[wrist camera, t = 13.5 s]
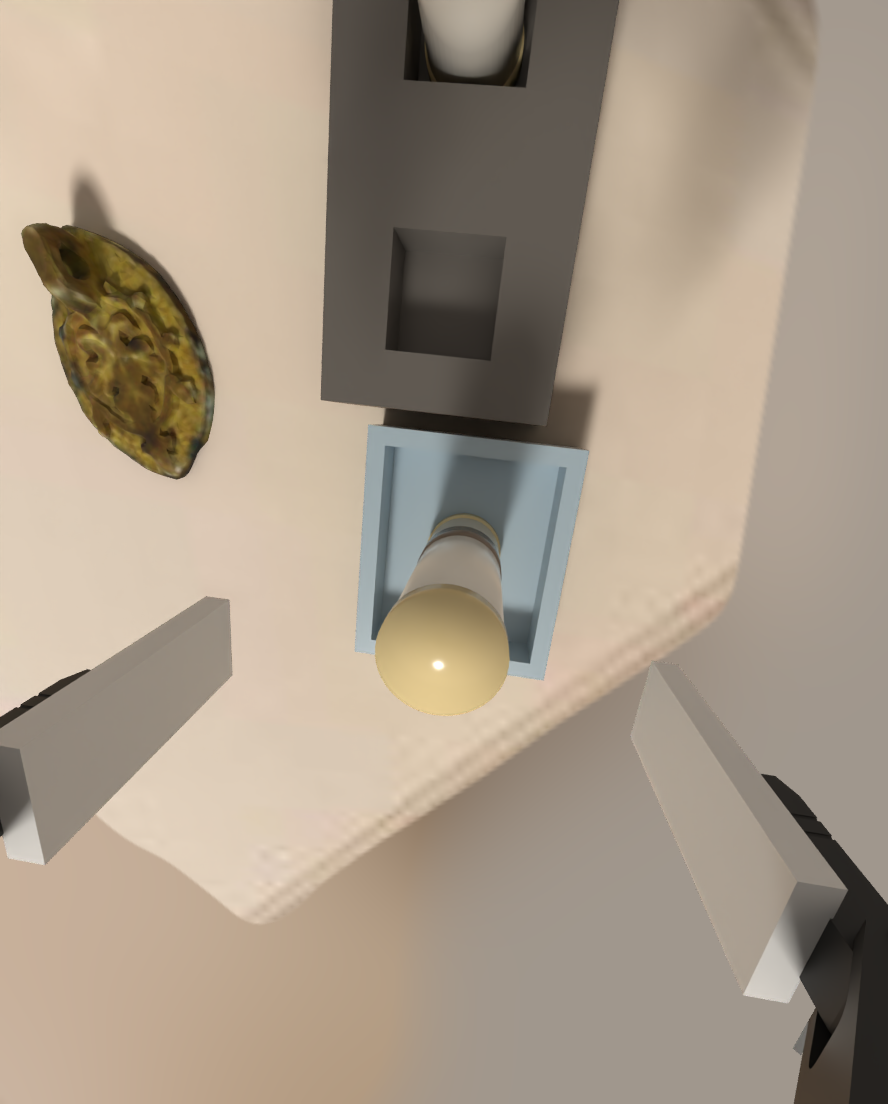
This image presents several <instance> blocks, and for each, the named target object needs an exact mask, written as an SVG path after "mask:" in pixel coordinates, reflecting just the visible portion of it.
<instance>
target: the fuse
mask: <svg viewBox="0 0 888 1104" xmlns="http://www.w3.org/2000/svg"><path fill="white" fill-rule="evenodd" d="M418 5H419V11H420V16H421V22H422V28H423V33H424V39H425V57H426V62H427V68H428V73H429V79H430V82H444V83H460V84H476V85H491V86H507V87H515V85H516V83H517V80H518V78H519V75H520V71H521V66H522V60H523V48H524V24H523V19H524V6H525V0H418Z"/></svg>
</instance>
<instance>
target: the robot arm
mask: <svg viewBox="0 0 888 1104" xmlns="http://www.w3.org/2000/svg"><path fill="white" fill-rule="evenodd" d="M231 676H232V653H231V628H230V602H229V600H228V599H221V598H214V597H207V596H206V597H204V598H203V599H201V600H200V601H198V602H197V603H195V604H194V605H192V606H190V607H189V608H187V609H186V610H184V611H183V612H181V613H180V614H178V615H176V616H175V617H173V618H172V619H170V620H169V621H167V622H165V623H164V624H162V625H161V626H159V627H158V628H156V629H155V630H153V631H151V632H150V633H148V634H147V635H145V636H144V637H142V638H141V639H139V640H137V641H136V642H134V643H133V644H131V645H130V646H128V647H127V648H125V649H123V650H122V651H120V652H119V653H117V654H116V655H114V656H113V657H111V658H109V659H108V660H106V661H105V662H103V663H102V664H100V665H98V666H97V667H95V668H94V669H92V670H88V669H87V670H84V671H82V672H79V673H77V674H74V675H72V676H69V677H66V678H64V679H61V680H59V681H58V682H56V683H55V684H53V685H51V686H50V687H48V688H47V689H45V690H43V691H42V692H40V693H39V695H38V696H34V697H32V698H30V699H29V700H27V701H26V702H24V703H22V704H21V706H20V707H19V708H17V707H16V708H14V709H13V710H11V711H9V712H8V713H6V714H4V715H3V716H1V717H0V836H3V840H4V843H5V848H6V852H7V855H8V858H10V859H15V860H21V861H26V862H31V863H36V864H43V865H45V864H46V863H47V862H48V861H49V860H50V859H51V858H52V857H53V856H54V855H55V854H56V853H57V852H58V851H59V850H60V849H61V848H62V847H63V846H64V845H65V844H66V843H67V842H68V841H69V840H70V839H71V838H72V837H73V836H74V835H75V834H76V833H77V832H78V831H79V830H80V829H81V828H82V827H83V826H84V825H85V824H86V823H87V822H88V821H89V820H90V819H91V818H92V817H93V816H94V815H95V814H96V813H97V812H98V811H99V810H100V809H101V808H102V807H103V806H104V805H105V804H106V803H107V802H108V801H109V800H110V799H111V798H112V797H113V796H114V795H115V794H116V793H117V792H118V791H119V790H120V788H121V787H122V786H123V785H124V784H125V783H126V782H127V781H128V780H129V779H130V778H131V777H132V776H133V775H134V774H135V773H136V772H137V771H138V770H139V769H140V768H141V767H142V766H143V765H144V764H145V763H146V762H147V761H148V760H149V759H150V758H151V757H152V756H153V755H154V754H155V753H156V752H157V751H158V750H159V749H160V748H161V747H162V746H163V745H164V744H165V743H166V742H167V741H168V740H169V739H170V738H171V737H172V736H173V735H174V734H175V733H176V732H177V731H178V730H179V729H180V728H181V727H182V726H183V725H184V724H185V723H186V722H187V721H188V720H189V719H190V718H191V717H192V716H193V715H194V714H195V712H196V711H197V710H198V709H199V708H200V707H201V706H202V705H203V704H204V703H205V702H206V701H207V700H208V699H209V698H210V697H211V696H212V695H213V694H214V693H215V692H216V691H217V690H218V689H219V688H220V687H221V686H222V685H223V684H224V683H225V682H226V681H227V680H228V679H229V678H230V677H231ZM630 737H631V739H632V742H633V744H634V747H635V749H636V751H637V753H638V756H639V758H640V760H641V763H642V765H643V767H644V769H645V771H646V774H647V776H648V779H649V781H650V783H651V785H652V787H653V790H654V792H655V795H656V797H657V799H658V801H659V803H660V806H661V808H662V811H663V813H664V815H665V817H666V820H667V822H668V824H669V827H670V829H671V831H672V834H673V836H674V838H675V840H676V843H677V845H678V847H679V850H680V852H681V854H682V856H683V859H684V861H685V863H686V866H687V868H688V870H689V872H690V875H691V877H692V879H693V882H694V884H695V886H696V888H697V890H698V893H699V895H700V898H701V900H702V902H703V904H704V907H705V909H706V911H707V913H708V916H709V918H710V920H711V923H712V925H713V927H714V929H715V932H716V934H717V937H718V939H719V941H720V943H721V946H722V948H723V950H724V952H725V955H726V957H727V959H728V962H729V964H730V966H731V968H732V971H733V973H734V975H735V978H736V980H737V982H738V985H739V987H740V989H741V991H742V994H743V995H745V996H751V997H756V998H761V999H768V1000H773V1001H777V1002H783V1003H789V1001H790V999H791V997H792V995H793V993H794V991H795V990H796V988H797V986H798V984H799V982H800V980H801V981H802V983H803V985H804V987H805V989H806V990H807V992H808V994H809V996H810V998H811V1000H812V1001H813V1003H814V1005H815V1007H816V1008H815V1010H814V1012H813V1014H812V1015H811V1017H810V1019H809V1021H808V1023H807V1025H806V1026H805V1028H804V1030H803V1031H802V1033H801V1035H800V1037H799V1039H798V1040H797V1042H796V1044H795V1046H794V1048H793V1049H794V1050H795V1051H797V1052H798V1053H799V1054H800V1055H801V1054H802V1053H803V1055H802V1061H801V1067H800V1073H799V1077H798V1083H797V1089H796V1095H795V1100H794V1104H888V904H887V903H886V902H885V901H884V899H883V898H882V897H881V896H880V895H879V893H878V892H877V891H876V890H875V888H874V887H873V886H872V885H871V883H870V882H869V881H868V880H867V879H866V877H865V876H864V875H863V874H862V872H861V871H860V870H859V869H858V868H857V866H856V865H855V864H854V863H853V861H852V860H851V859H850V858H849V856H848V855H847V854H846V853H845V851H844V850H843V849H842V848H841V847H840V845H839V844H838V843H837V842H836V841H835V840H832V838H831V834H830V833H829V832H828V831H827V829H826V828H825V827H824V826H823V824H822V823H821V822H819V821H817V817H816V816H815V815H814V813H813V812H812V811H811V810H810V808H809V807H808V806H807V805H806V803H805V802H804V801H803V800H802V799H801V797H800V796H799V795H798V794H796V793H795V792H794V791H793V790H791V789H790V788H789V787H788V786H787V785H785V784H784V783H783V782H782V781H781V780H779V779H778V778H777V777H776V776H771V775H764V774H760V773H759V771H758V770H757V769H756V767H755V766H754V765H753V763H752V762H751V761H750V759H749V758H748V757H747V755H746V754H745V753H744V751H743V750H742V749H741V747H740V746H739V745H738V744H737V742H736V741H735V739H734V738H733V737H732V735H731V734H730V733H729V731H728V730H727V729H726V728H725V726H724V725H723V723H722V722H721V721H720V720H719V718H718V717H717V716H716V714H715V713H714V712H713V710H712V709H711V708H710V706H709V705H708V704H707V702H706V701H705V700H704V698H703V697H702V696H701V695H700V693H699V692H698V690H697V689H696V688H695V686H694V685H693V684H692V682H691V681H690V680H689V679H688V677H687V676H686V674H685V673H684V672H683V670H682V669H681V668H680V667H679V665H677V664H671V663H664V662H657V661H652V662H651V665H650V669H649V672H648V676H647V680H646V683H645V687H644V690H643V694H642V697H641V701H640V704H639V708H638V711H637V715H636V718H635V722H634V725H633V729H632V732H631V736H630Z"/></svg>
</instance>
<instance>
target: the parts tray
mask: <svg viewBox="0 0 888 1104" xmlns="http://www.w3.org/2000/svg"><path fill="white" fill-rule="evenodd" d="M588 455H589V451H588V450H585V449H581V448H577V447H569V446H560V445H552V444H543V443H535V442H526V441H518V440H509V439H501V438H492V437H484V436H475V435H467V434H458V433H450V432H441V431H433V430H424V429H416V428H407V427H399V426H390V425H368V439H367V456H366V473H365V489H364V506H363V522H362V539H361V556H360V572H359V589H358V606H357V622H356V639H355V652H361V653H368V654H374V655H375V644H376V639H377V635H378V632H379V630H380V628H381V626H382V624H383V622H384V620H385V618H386V616H387V615H388V613H389V611H390V610H391V608H392V607H393V606H394V604H395V603H396V602H397V601H398V600H399V598H400V596H401V594H402V592H403V590H404V588H405V586H406V584H407V582H408V580H409V579H410V577H411V575H412V573H413V571H414V569H415V567H416V565H417V562H418V560H419V558H420V555H421V554H422V552H423V550H424V548H425V546H426V544H427V542H428V539H429V537H430V535H431V533H432V531H433V530H434V528H435V527H436V525H437V524H438V523H439V522H441V521H442V520H443V519H445V518H446V517H448V516H451V515H454V514H458V513H469V514H474V515H477V516H479V517H481V518H483V519H485V520H486V521H487V522H488V523H490V524H491V526H492V527H493V528H494V530H495V531H496V533H497V535H498V538H499V542H500V551H501V554H500V561H501V574H502V579H501V587H502V601H503V615H504V625H505V627H506V630H507V635H508V644H509V658H510V660H509V669H508V673H507V675H511V676H517V677H524V678H530V679H537V680H543V681H544V676H545V671H546V666H547V661H548V656H549V651H550V646H551V641H552V636H553V631H554V626H555V621H556V616H557V611H558V606H559V601H560V596H561V590H562V585H563V580H564V575H565V570H566V565H567V560H568V555H569V550H570V545H571V540H572V535H573V530H574V525H575V520H576V515H577V510H578V505H579V500H580V495H581V490H582V485H583V480H584V475H585V470H586V465H587V460H588Z"/></svg>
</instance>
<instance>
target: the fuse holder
mask: <svg viewBox="0 0 888 1104" xmlns="http://www.w3.org/2000/svg"><path fill="white" fill-rule="evenodd" d="M618 3H619V0H525V6H524V19H523V24H524V48H523V60H522V66H521V71H520V75H519V78H518V80H517V83H516V85H515V87H507V86H491V85H476V84H460V83H444V82H430V79H429V73H428V68H427V62H426V57H425V39H424V33H423V28H422V22H421V16H420V11H419V5H418V0H333V14H332V47H331V80H330V113H329V146H328V179H327V212H326V245H325V277H324V310H323V343H322V376H321V400H325V401H332V402H339V403H347V404H355V405H364V406H373V407H381V408H390V409H399V410H407V411H416V412H425V413H433V414H442V415H451V416H459V417H468V418H477V419H485V420H494V421H503V422H511V423H520V424H529V425H538V426H547V421H548V415H549V409H550V403H551V397H552V392H553V386H554V380H555V374H556V368H557V362H558V356H559V350H560V344H561V339H562V333H563V327H564V321H565V315H566V309H567V303H568V297H569V292H570V286H571V280H572V274H573V268H574V262H575V256H576V250H577V244H578V239H579V233H580V227H581V221H582V215H583V209H584V203H585V197H586V192H587V186H588V180H589V174H590V168H591V162H592V156H593V150H594V144H595V139H596V133H597V127H598V121H599V115H600V109H601V103H602V97H603V92H604V86H605V80H606V74H607V68H608V62H609V56H610V50H611V44H612V39H613V33H614V27H615V21H616V15H617V9H618Z"/></svg>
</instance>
